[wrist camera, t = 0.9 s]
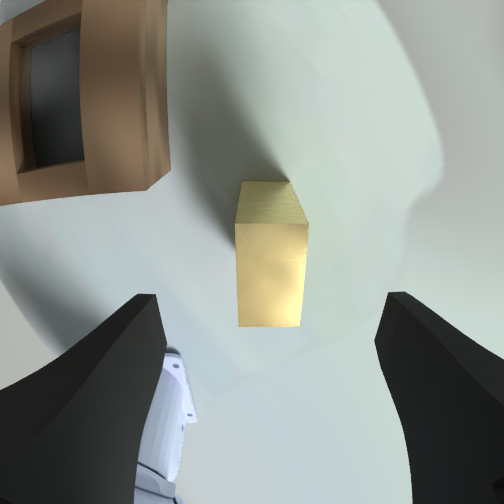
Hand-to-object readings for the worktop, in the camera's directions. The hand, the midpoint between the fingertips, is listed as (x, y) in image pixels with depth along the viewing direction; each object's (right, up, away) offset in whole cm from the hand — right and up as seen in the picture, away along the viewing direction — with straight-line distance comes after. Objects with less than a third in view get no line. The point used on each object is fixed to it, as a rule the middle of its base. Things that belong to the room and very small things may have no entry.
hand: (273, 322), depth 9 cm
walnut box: (-10, +11, +4) cm, 15 cm away
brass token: (0, +4, +7) cm, 8 cm away
